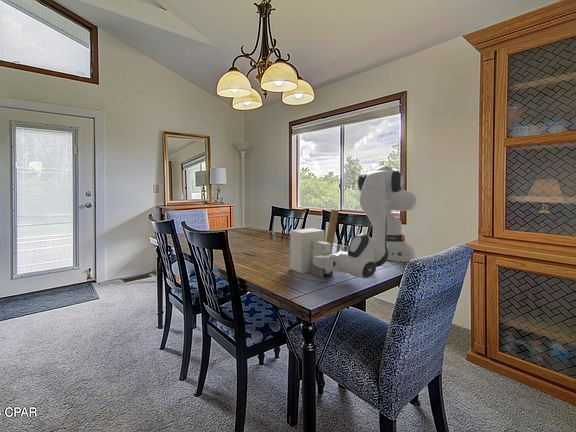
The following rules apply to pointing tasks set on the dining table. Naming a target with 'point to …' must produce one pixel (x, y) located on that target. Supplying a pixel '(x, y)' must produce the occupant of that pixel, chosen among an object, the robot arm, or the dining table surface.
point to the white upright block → (321, 249)
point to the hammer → (332, 227)
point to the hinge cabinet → (305, 251)
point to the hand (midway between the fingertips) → (322, 255)
